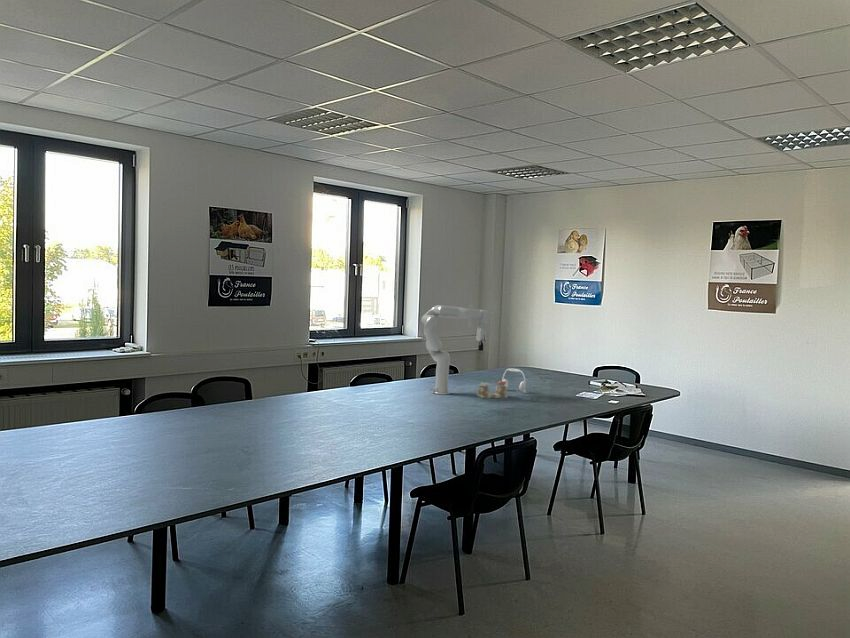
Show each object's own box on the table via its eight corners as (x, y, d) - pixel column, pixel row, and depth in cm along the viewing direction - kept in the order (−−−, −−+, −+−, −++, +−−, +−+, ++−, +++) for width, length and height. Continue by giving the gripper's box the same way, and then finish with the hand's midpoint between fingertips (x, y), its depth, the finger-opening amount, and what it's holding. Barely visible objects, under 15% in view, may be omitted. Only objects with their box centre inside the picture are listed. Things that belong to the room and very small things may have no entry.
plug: (481, 394, 461) (482, 383, 460) (478, 393, 466) (479, 382, 465) (488, 394, 462) (488, 383, 462) (485, 393, 467) (486, 382, 467)
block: (482, 398, 459) (482, 387, 458) (477, 395, 468) (477, 385, 468) (507, 397, 464) (508, 387, 464) (502, 395, 474) (502, 385, 473)
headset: (500, 390, 496) (501, 367, 495) (504, 389, 502) (505, 366, 501) (522, 393, 484) (523, 370, 483) (527, 392, 490) (528, 369, 489)
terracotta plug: (499, 392, 465) (499, 382, 464) (496, 391, 470) (497, 380, 469) (506, 392, 466) (506, 382, 466) (503, 391, 471) (503, 380, 471)
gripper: (474, 325, 487) (472, 349, 487) (480, 326, 472) (479, 351, 473) (483, 325, 488) (482, 349, 489) (490, 327, 474) (488, 351, 475)
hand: (480, 350), depth 481 cm, fingers closed
